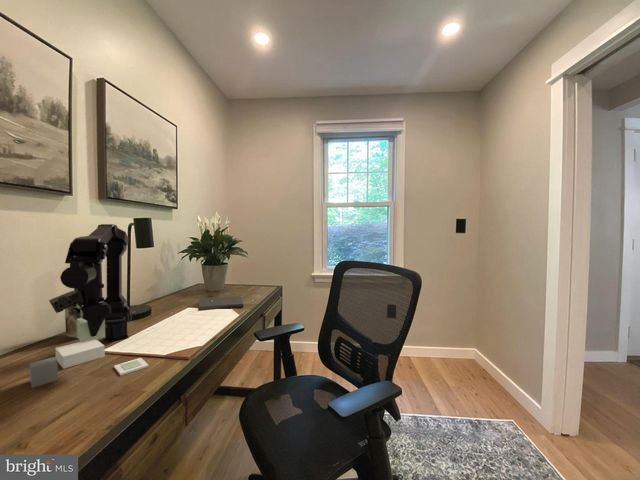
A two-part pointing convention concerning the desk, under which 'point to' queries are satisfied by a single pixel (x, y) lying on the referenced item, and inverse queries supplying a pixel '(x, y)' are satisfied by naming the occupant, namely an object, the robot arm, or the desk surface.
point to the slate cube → (43, 372)
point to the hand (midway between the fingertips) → (91, 333)
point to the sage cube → (84, 332)
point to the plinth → (79, 353)
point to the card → (130, 366)
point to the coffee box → (71, 321)
